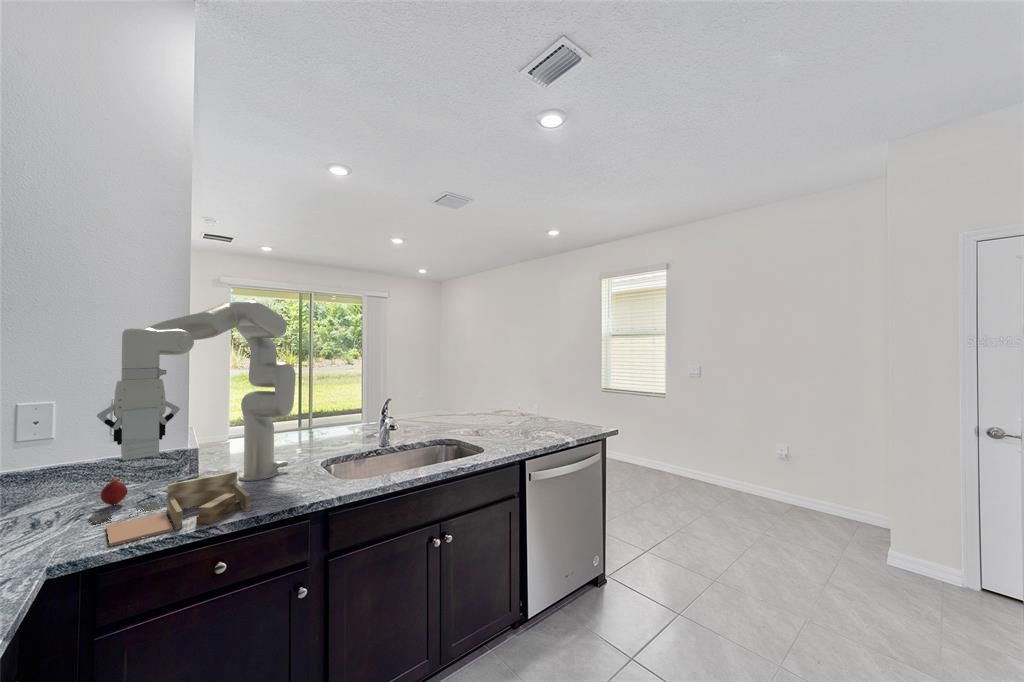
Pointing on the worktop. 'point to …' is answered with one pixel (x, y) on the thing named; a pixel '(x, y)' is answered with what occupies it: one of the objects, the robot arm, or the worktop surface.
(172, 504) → the light wood blocky piece
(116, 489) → the onion
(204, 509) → the brown wooden rectangular block
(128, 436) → the supplement box
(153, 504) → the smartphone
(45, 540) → the worktop surface
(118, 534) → the terracotta tile
